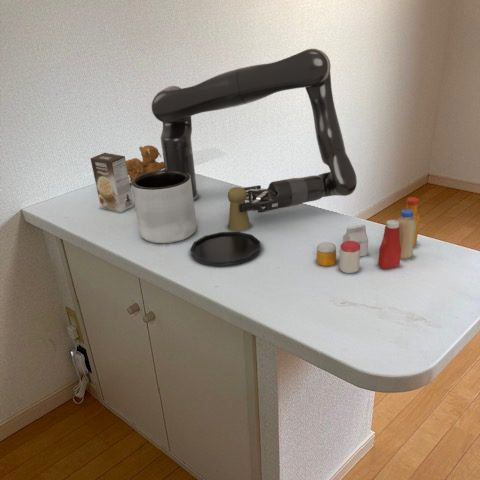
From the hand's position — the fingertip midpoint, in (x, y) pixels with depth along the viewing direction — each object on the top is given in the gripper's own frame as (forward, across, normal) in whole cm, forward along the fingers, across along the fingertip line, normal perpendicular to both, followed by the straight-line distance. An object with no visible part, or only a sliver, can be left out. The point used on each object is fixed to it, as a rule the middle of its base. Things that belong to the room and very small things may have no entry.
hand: (233, 203), depth 141 cm
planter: (+18, -5, +7) cm, 20 cm away
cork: (-1, 0, +7) cm, 8 cm away
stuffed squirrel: (+15, -49, +7) cm, 52 cm away
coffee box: (+28, -33, +7) cm, 44 cm away
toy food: (-24, +33, +7) cm, 41 cm away
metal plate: (+7, +13, +7) cm, 16 cm away
